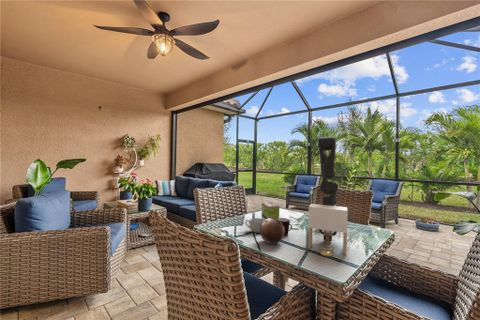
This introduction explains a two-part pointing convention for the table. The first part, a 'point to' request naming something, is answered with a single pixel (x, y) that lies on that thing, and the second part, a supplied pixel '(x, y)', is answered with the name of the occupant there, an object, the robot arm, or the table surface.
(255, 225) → the teacup
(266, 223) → the wooden sphere
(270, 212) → the tea box
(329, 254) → the brass puck
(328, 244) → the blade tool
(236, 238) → the table surface
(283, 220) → the coffee mug
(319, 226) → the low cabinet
